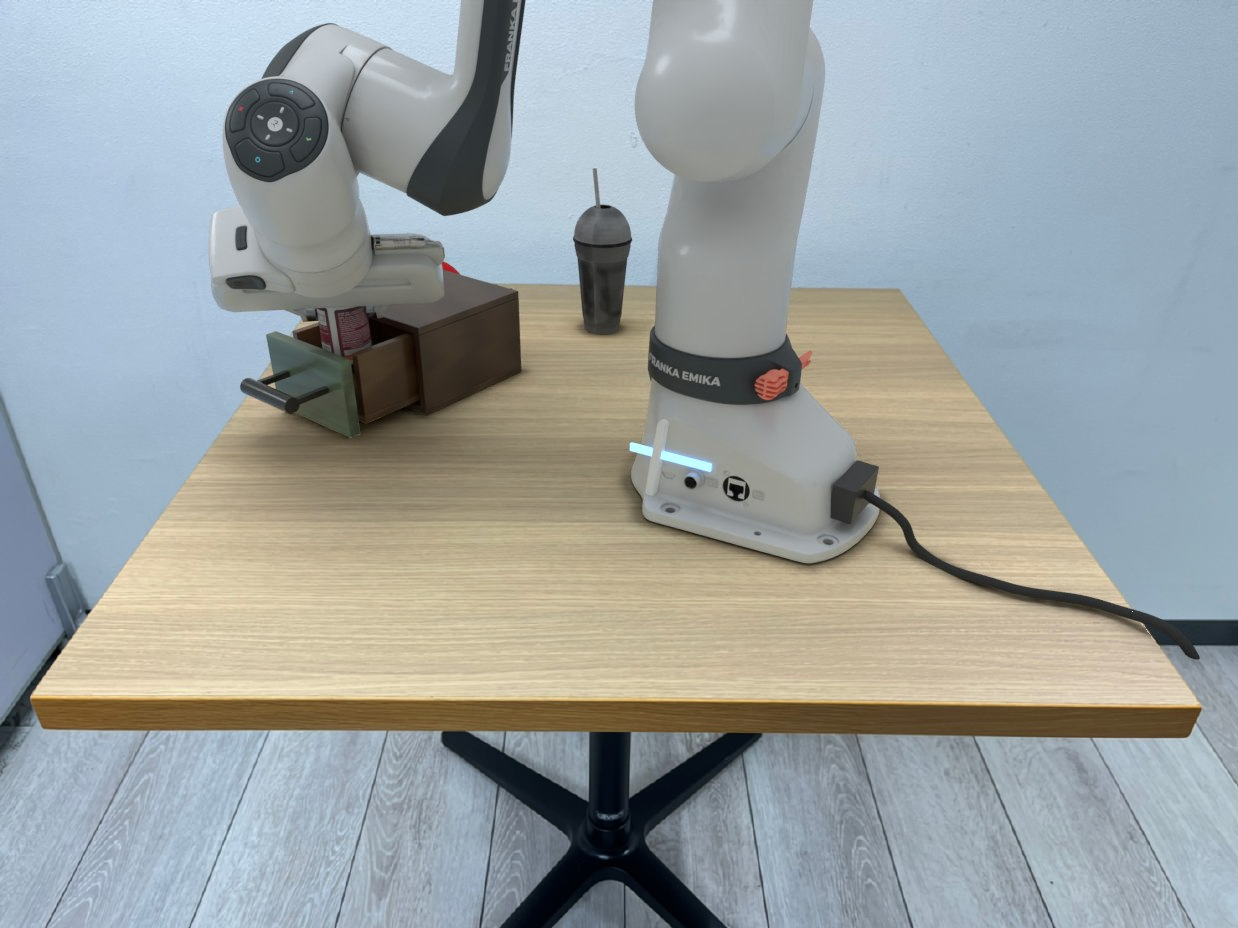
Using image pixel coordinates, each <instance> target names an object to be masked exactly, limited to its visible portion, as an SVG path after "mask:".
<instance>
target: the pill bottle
mask: <svg viewBox="0 0 1238 928" xmlns="http://www.w3.org/2000/svg"><path fill="white" fill-rule="evenodd" d="M316 311H317V317H318V321H317V323H318V322H319V328H320V335H321V341H322V347H323V349H324V350H327V351H329V352H332V353H334V354H337V355H340V356H342V357H345V358H347V359H350V360H351V365H352V364H353V357H352V353H355V352H358V351H360V350H363V349H366V348H368V347H371V346H372V343H371V337H370V329H369V321H368V318H367V315H366V306H355V307H335V308H316Z"/></svg>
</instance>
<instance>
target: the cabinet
mask: <svg viewBox="0 0 1238 928" xmlns="http://www.w3.org/2000/svg"><path fill="white" fill-rule="evenodd" d="M443 279H444V297H443V298H442V299H440V300H439V301H437V302H434V303H418V304H397V305H390V306H389V307H388V308H386V309H385V310H384V311H383V318H370V319H373V320H376V321H379V322H381V323H384V324H387V325H390V326H393V327H396V328H399V329H402V330H405V331H408V332H411V333H414V342H415V352H416V362H417V373H418V383H419V393H420V400H419V401H417V402H415V403H412V404H410V405H408V406H406V407H405V408H407V409H410V410H412V411H415V412H417V413H420V414H421V415H425V416H428V415H430V414H432V413H435V412H437V411H439V410H441V409H444V408H446V407H447V406H450V405H452V404H454V403H456V402H459V401H461V400H463V399H464V398H467V397H469V396H471V395H473V394H476V393H479V392H480V391H482V390H484V389H486V388H488V387H491V386H493V385H495V384H497V383H499V382H501V381H503V380H506V379H508V378H510V377H512V376H514V375H517V374H519V373H521V372H522V354H521V353H522V350H521V349H522V348H521V324H520V323H521V322H520V321H521V320H520V319H521V318H520V298H519V291H518V290H515V289H512V288H509V287H505V286H502V285H498V284H495V283H492V282H488V281H484V280H481V279H477V278H475V277H471V276H466V275H463V274H461V273H460V274H456V273H453V272H449V271H445V270H443Z"/></svg>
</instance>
